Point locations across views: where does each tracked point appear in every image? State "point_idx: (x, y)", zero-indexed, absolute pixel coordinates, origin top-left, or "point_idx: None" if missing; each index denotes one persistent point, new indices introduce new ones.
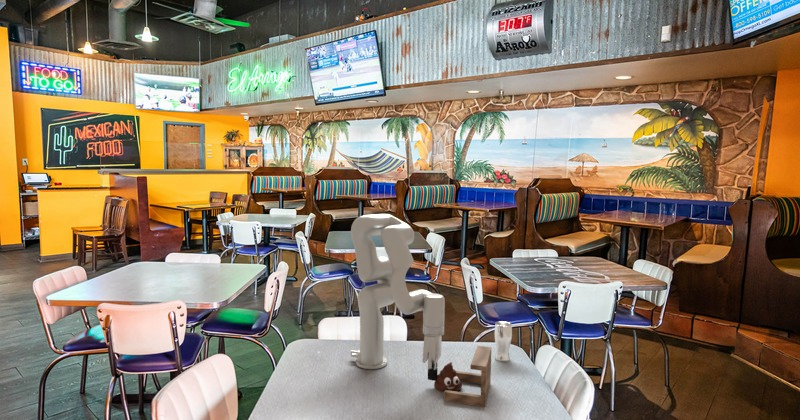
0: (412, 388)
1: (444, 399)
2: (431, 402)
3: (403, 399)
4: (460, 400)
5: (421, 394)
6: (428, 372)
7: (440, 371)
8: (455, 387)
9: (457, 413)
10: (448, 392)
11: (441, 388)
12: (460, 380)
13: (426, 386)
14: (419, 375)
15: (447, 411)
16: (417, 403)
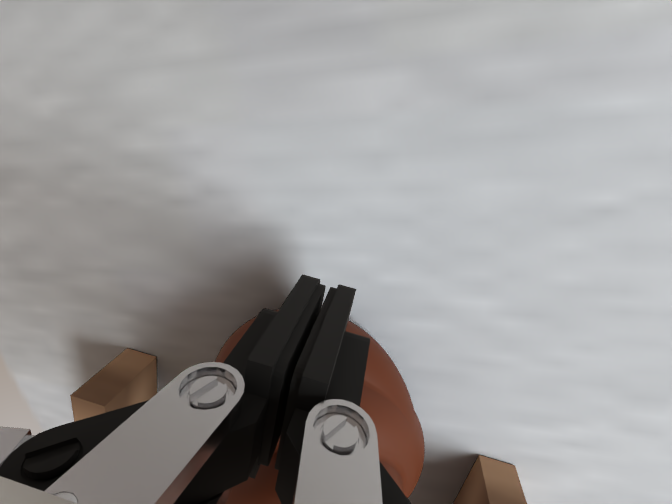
0: (258, 79)
1: (120, 354)
2: (71, 262)
3: (12, 2)
4: None
5: (162, 183)
6: (272, 328)
7: (269, 487)
8: None
9: (22, 393)
10: (74, 420)
11: None
12: (458, 500)
13: (328, 230)
14: (637, 145)
15: (15, 348)
16: (11, 153)
